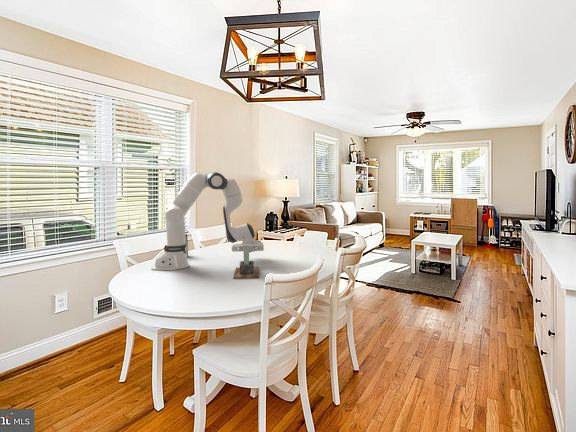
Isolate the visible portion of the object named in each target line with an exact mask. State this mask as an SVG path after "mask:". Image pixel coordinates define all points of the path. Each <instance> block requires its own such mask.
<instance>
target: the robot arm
mask: <svg viewBox="0 0 576 432" xmlns="http://www.w3.org/2000/svg"><path fill="white" fill-rule="evenodd" d="M206 188H210V189H212V190H217V191H218V190H220V191H221V192H222V193H223V196H224V200H225V202H224V205H223V207H222V212H223V213H222V214H223V221H224V227H225V238H226V240H227V241H228V242H230V243H232V245H231V251H232V252H236V253H237V252H243V245H244V244H249V254H250V253H253V252H261V251H262V252H263V251H264V250H265V247H264V246H265V245H264V243H263V242H262V240H259V239H256V240H255V236H256V235H255V230H254V228H253V226H252V225H251V224H250V223H248V222H246V223H243V224H240V225H237V226H234V227H232V222H231V221H232V220H231V214H232V213H233V212H235V210H237V209H238V208H239V207H240V206H241V204H242V203H243V196H242V192H241V189H240V186H239V184H238V182H237V181H236V179H235V178H231V177H228V178H226V177H225V176H224V175H223V174H222V173H219V172H217V171H212V172H211V171H210V172H208V173H206V174H203V173H200V172H194V173H193V174H192V175H191V177H189V179H188V180H186V182H185V184H183V186H182V188H181V189H180V190H179V192H178V194H177V195H176V197H175V198H174V199H173V201H172V202H171V203H170V204H169V206H168V207H167V209H166V210H165V214H164V219H165V220H164V221H165V231H166V244H165V245H164V247H163V250H164V251H163V252H162V253H160V254H159V255H158V256H157V257H156V258H155V261H154V262H155V263H154V264H153V265H152V266H151V268H150V269H151V270H152V271H153V270H154V271H176V270H177V271H178V270H180V269H185V268H188V267H189V266H190V264H189V261H188V256H187V255H186V252H187V246H186V243H185V234H186V228H185V227H186V223H185V216H186V215H187V213H188V212H189V210H190V209H191V208H192V207H193V205H194V204H195V202H196V201H197V200H198V198H199V196H200V195H201V194H202V192H203V191H204V189H206ZM241 240H242V242H241V243H237V242H239V241H241Z"/></svg>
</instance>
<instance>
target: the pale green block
mask: <svg viewBox="0 0 576 432" xmlns="http://www.w3.org/2000/svg"><path fill="white" fill-rule="evenodd" d="M242 252H243V261H244V265H249V261H250V253H249V244H244V245H243V251H242Z"/></svg>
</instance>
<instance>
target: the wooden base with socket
mask: <svg viewBox="0 0 576 432" xmlns="http://www.w3.org/2000/svg"><path fill="white" fill-rule="evenodd" d="M243 279H245V280H246V279H248V280H249V279H260V266H255V265H254V261H253V260H249V265H244V260H241V261H240V263H239V267H235V270H234V274H233V280H243Z"/></svg>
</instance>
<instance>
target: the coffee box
mask: <svg viewBox="0 0 576 432" xmlns="http://www.w3.org/2000/svg"><path fill="white" fill-rule="evenodd" d="M185 243H186V246H187V252H186V255H187V257H189V245H188V243H189V242H188V234H187V233H185Z"/></svg>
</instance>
